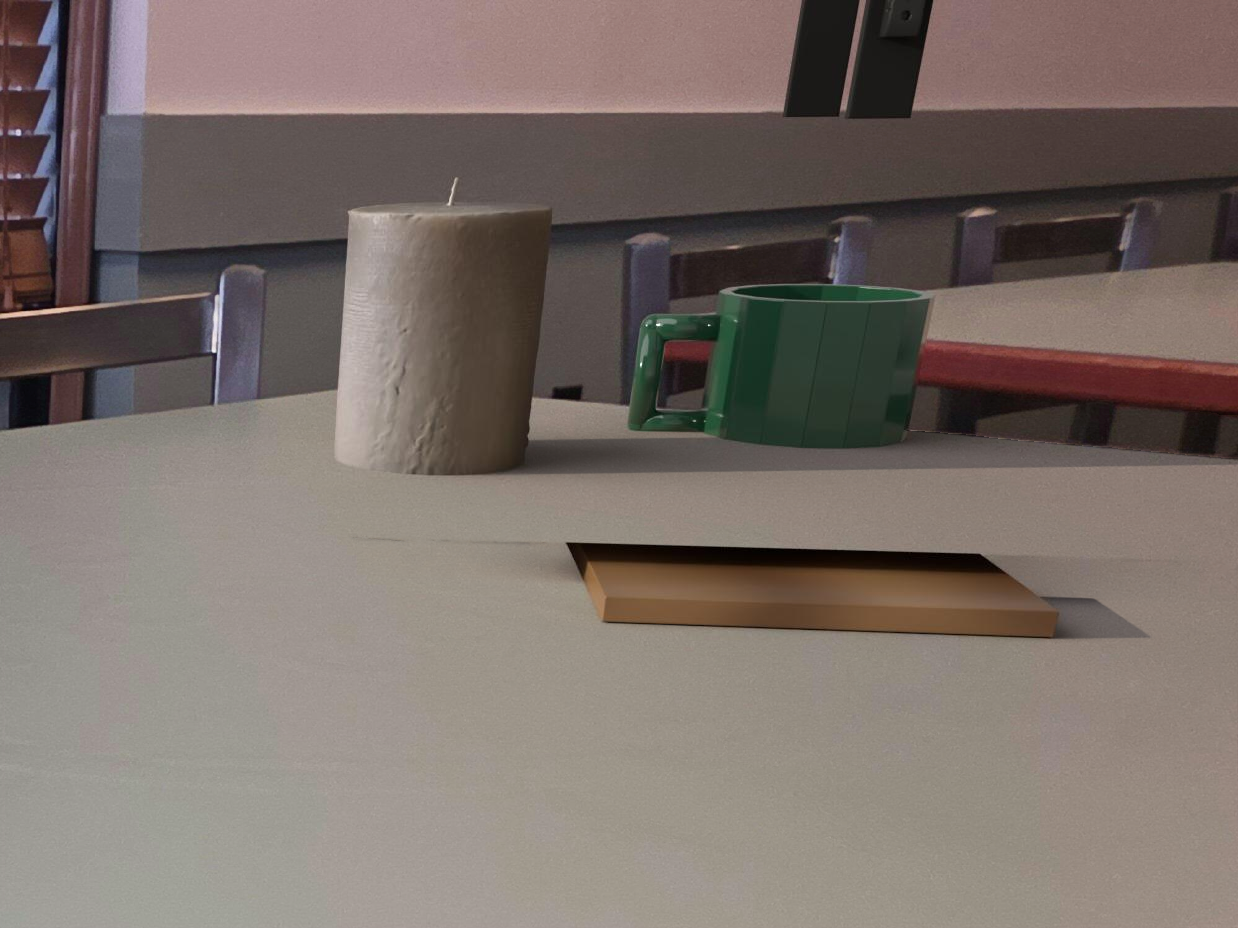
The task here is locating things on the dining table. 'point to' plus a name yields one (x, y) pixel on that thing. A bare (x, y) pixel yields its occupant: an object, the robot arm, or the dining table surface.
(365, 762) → the dining table surface
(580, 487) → the dining table surface
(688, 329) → the mug
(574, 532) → the dining table surface
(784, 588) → the trivet
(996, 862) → the dining table surface
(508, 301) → the pillar candle
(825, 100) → the robot arm
